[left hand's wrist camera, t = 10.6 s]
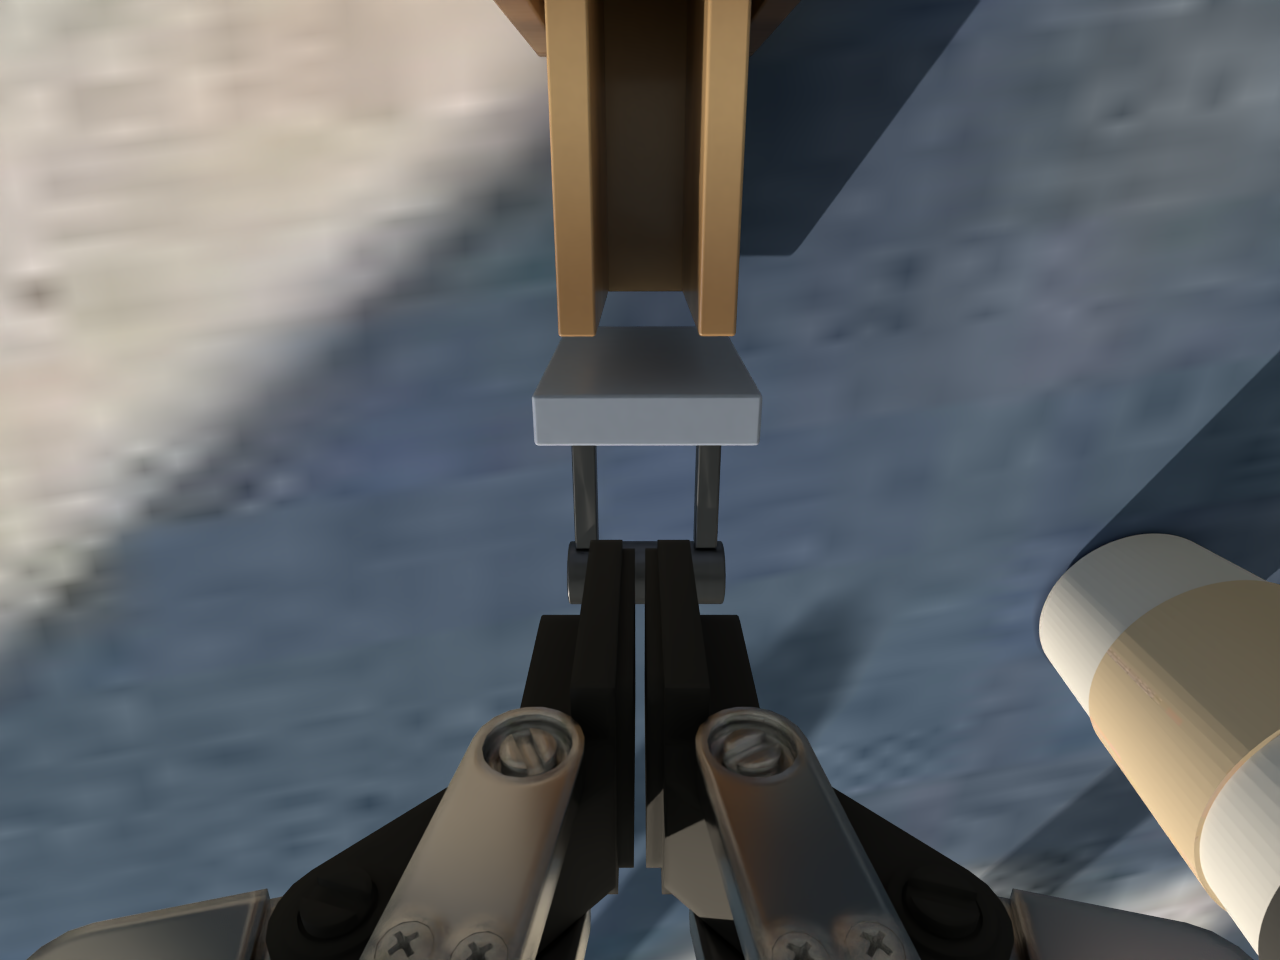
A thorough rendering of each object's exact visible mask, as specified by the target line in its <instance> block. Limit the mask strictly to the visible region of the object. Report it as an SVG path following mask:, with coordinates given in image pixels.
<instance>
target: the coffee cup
mask: <svg viewBox="0 0 1280 960" xmlns="http://www.w3.org/2000/svg"><path fill="white" fill-rule="evenodd" d="M1039 633H1040V640H1041V644H1042V647H1043V650H1044V652H1045V654H1046V656H1047V657H1048V659H1049V660H1050V662H1051V663H1052V664H1053V666H1054V667H1055V669H1056V670H1057V671H1058V673H1059V674H1060V676H1061V677H1062V679H1063V680H1064V681H1065V683H1066V684H1067V686H1068V687H1069V688H1070V690H1071V691H1072V693H1073V694H1074V695H1075V697H1076V698H1077V700H1078V701H1079V703H1080V704H1081V705H1082V707H1083V708H1084V710H1085V711H1086V712H1087V714H1088V715H1089V717H1090V719H1091V722H1092V725H1093V728H1094V730H1095V732H1096V734H1097V735H1098V737H1099V738H1100V740H1101V741H1102V743H1103V744H1104V746H1105V747H1106V748H1107V750H1108V751H1109V753H1110V754H1111V756H1112V757H1113V758H1114V760H1115V761H1116V763H1117V764H1118V766H1119V767H1120V768H1121V770H1122V771H1123V773H1124V774H1125V776H1126V777H1127V778H1128V780H1129V781H1130V783H1131V784H1132V786H1133V787H1134V788H1135V790H1136V791H1137V793H1138V794H1139V796H1140V797H1141V799H1142V800H1143V801H1144V803H1145V804H1146V806H1147V807H1148V809H1149V810H1150V811H1151V813H1152V814H1153V816H1154V817H1155V819H1156V820H1157V821H1158V823H1159V824H1160V826H1161V827H1162V829H1163V830H1164V831H1165V833H1166V834H1167V836H1168V837H1169V839H1170V840H1171V841H1172V843H1173V844H1174V846H1175V847H1176V849H1177V850H1178V851H1179V853H1180V854H1181V856H1182V857H1183V859H1184V860H1185V862H1186V863H1187V864H1188V866H1189V867H1190V869H1191V870H1192V872H1193V873H1194V874H1195V876H1196V877H1197V879H1198V880H1199V882H1200V883H1201V884H1202V886H1203V887H1204V889H1205V890H1206V892H1207V893H1208V894H1209V896H1210V897H1211V898H1212V899H1213V900H1214V901H1215V902H1216V903H1217V904H1218V905H1219V906H1220V907H1222V908H1223V909H1224V910H1226V911H1227V912H1228V913H1229V914H1230V916H1231V917H1232V919H1233V920H1234V922H1235V923H1236V924H1237V926H1238V927H1239V929H1240V930H1241V931H1242V933H1243V934H1244V936H1245V937H1246V938H1247V940H1248V941H1249V943H1250V944H1251V946H1252V947H1253V948H1254V950H1255V951H1256V953H1257V954H1258V955H1259V960H1280V585H1279V584H1275V583H1271V582H1267V581H1266V580H1264V579H1262V578H1260V577H1258V576H1256V575H1254V574H1252V573H1250V572H1249V571H1247V570H1245V569H1243V568H1241V567H1239V566H1237V565H1235V564H1234V563H1232V562H1230V561H1228V560H1226V559H1224V558H1222V557H1220V556H1218V555H1217V554H1215V553H1213V552H1211V551H1209V550H1207V549H1205V548H1203V547H1202V546H1200V545H1198V544H1196V543H1194V542H1192V541H1190V540H1188V539H1185V538H1182V537H1179V536H1174V535H1169V534H1141V535H1135V536H1130V537H1126V538H1122V539H1119V540H1116V541H1113V542H1111V543H1108V544H1106V545H1104V546H1101V547H1100V548H1098V549H1096V550H1094V551H1092V552H1091V553H1089V554H1087V555H1086V556H1084V557H1083V558H1081V559H1080V560H1079V561H1078V562H1076V563H1075V564H1074V565H1073V566H1072V567H1070V568H1069V569H1068V570H1067V571H1066V572H1065V573H1064V574H1063V575H1062V577H1061V578H1060V579H1059V580H1058V581H1057V583H1056V584H1055V585H1054V587H1053V588H1052V590H1051V592H1050V593H1049V595H1048V597H1047V599H1046V601H1045V604H1044V606H1043V609H1042V613H1041V617H1040V624H1039Z"/></svg>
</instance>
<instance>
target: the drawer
mask: <svg viewBox="0 0 1280 960" xmlns="http://www.w3.org/2000/svg"><path fill="white" fill-rule="evenodd" d="M544 2H545V25H546V49H547V72H548V95H549V119H550V142H551V166H552V189H553V212H554V236H555V259H556V283H557V306H558V329H559V335H560V336H562V338H561V340H560V342H559V344H558V346H557V348H556V350H555V352H554V354H553V356H552V358H551V360H550V362H549V364H548V366H547V368H546V370H545V372H544V374H543V376H542V378H541V380H540V382H539V384H538V386H537V388H536V390H535V392H534V394H533V397H532V405H533V422H534V439H535V443H536V445H572V471H573V497H574V523H575V541H572V542H570V544H569V549H568V561H567V590H568V599H569V603H570V604H582V597H583V590H584V583H585V576H586V568H587V561H588V554H589V547H590V541H591V540H599V529H598V489H597V449H596V445H696V468H695V503H694V538H693V539H694V541H690V547H691V554H692V561H693V568H694V576H695V583H696V590H697V597H698V604H722V603H723V601H724V596H725V554H724V547H723V544H722V542H721V541H717V532H718V508H719V485H720V461H721V445H758V444H759V442H760V427H761V411H762V395H761V393H760V392H759V390H758V388H757V386H756V384H755V383H754V381H753V379H752V377H751V376H750V374H749V372H748V370H747V369H746V367H745V365H744V363H743V361H742V360H741V358H740V356H739V354H738V353H737V351H736V349H735V347H734V346H733V344H732V342H731V340H730V338H729V337H728V336H734V335H735V333H736V319H737V298H738V276H739V255H740V234H741V213H742V191H743V170H744V149H745V128H746V106H747V85H748V64H749V43H750V21H751V0H544ZM608 291H683V293H684V296H685V298H686V301H687V304H688V306H689V309H690V312H691V314H692V317H693V319H694V322H695V325H696V327H598V325H599V322H600V318H601V315H602V311H603V308H604V304H605V301H606V298H607V294H608ZM622 542H623V548H635V604H645V548H657V542H658V541H622Z"/></svg>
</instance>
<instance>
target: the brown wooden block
mask: <svg viewBox="0 0 1280 960" xmlns="http://www.w3.org/2000/svg"><path fill="white" fill-rule="evenodd" d="M800 1H801V0H751V21H750V43H749V56H752V55H753V54H754V53H755V52H756V50H757V49H758V48H759V47H760V46H761V45H762V44H763V43H764V41H765V40H766V39H767V38H768V37H769V36H770V35H771V34H772V32H773V31H774V30H775V29H776V28H777V27H778V26H779V25H780V23H781V22H782V21H783V20H784V19H785V18H786V17H787V16H788V14H789V13H790V12H791V11H792V10H793V9H794V8H795V7H796V5H797V4H798V3H799V2H800ZM494 2H495V3H496V4H497V5H498V7H499V8H500V9H501V10H502V12H503V13H504V14H505V15H506V16H507V18H508V19H509V20H510V21H511V23H512V24H513V25H514V26H515V27H516V29H517V30H518V31H519V32H520V34H521V35H522V36H523V37H524V38H525V40H526V41H527V42H528V43H529V45H530V46H531V47H532V48H533V50H534V51H535V52H536V53H537V55H538V56H540V57H547V49H546V25H545V2H544V0H494Z"/></svg>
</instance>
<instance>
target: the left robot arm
mask: <svg viewBox="0 0 1280 960" xmlns="http://www.w3.org/2000/svg"><path fill="white" fill-rule="evenodd" d="M634 783H635V548H623V542H622V540H591V541H590V547H589V554H588V561H587V568H586V576H585V583H584V590H583V597H582V605H581V612H580V615H543V616H542V617H541V620H540V624H539V628H538V632H537V637H536V641H535V646H534V650H533V654H532V659H531V663H530V668H529V672H528V676H527V681H526V685H525V689H524V694H523V698H522V703H521V707H520V708H519V709H514V710H510V711H507V712H505V713H503V714H501V715H498V716H496V717H494V718H493V719H491V720H490V721H489V722H487V723H486V724H485V725H483V726H482V727H481V728H480V730H479V731H478V732H477V734H476V735H475V736H474V738H473V739H472V741H471V743H470V745H469V747H468V749H467V751H466V753H465V755H464V757H463V759H462V761H461V763H460V765H459V767H458V769H457V770H456V772H455V774H454V776H453V778H452V780H451V782H450V784H449V786H448V787H447V788H445V789H444V790H442V791H441V792H439V793H437V794H436V795H434V796H432V797H431V798H429V799H427V800H426V801H424V802H423V803H421V804H419V805H418V806H416V807H414V808H413V809H411V810H409V811H408V812H406V813H405V814H403V815H401V816H400V817H398V818H396V819H395V820H393V821H392V822H390V823H388V824H387V825H385V826H383V827H382V828H380V829H378V830H377V831H375V832H374V833H372V834H370V835H369V836H367V837H365V838H364V839H362V840H360V841H359V842H357V843H356V844H354V845H352V846H351V847H349V848H347V849H346V850H344V851H342V852H341V853H339V854H338V855H336V856H334V857H333V858H331V859H329V860H328V861H326V862H324V863H323V864H321V865H320V866H318V867H316V868H315V869H313V870H311V871H310V872H309V873H307V874H306V875H305V876H304V877H302V878H301V879H300V880H298V881H297V882H296V883H294V884H293V885H292V886H291V887H290V889H289V890H288V891H287V892H286V893H285V894H284V895H283V897H278V898H273V899H270V897H269V893H268V889H262V890H257V891H252V892H247V893H242V894H237V895H232V896H227V897H222V898H217V899H212V900H207V901H201V902H196V903H191V904H186V905H181V906H176V907H171V908H166V909H161V910H156V911H151V912H146V913H141V914H136V915H131V916H125V917H120V918H115V919H110V920H105V921H100V922H95V923H92V924H89V925H86V926H83V927H80V928H77V929H73V930H70V931H68V932H66V933H64V934H63V935H61V936H59V937H57V938H56V939H54V940H52V941H50V942H49V943H47V944H45V945H43V946H42V947H40V948H39V949H38V950H37V951H36V952H35V953H34V954H32V955H31V956H30V957H29V958H28V959H27V960H584V956H585V951H586V947H587V942H588V938H589V934H590V923H591V908H592V907H593V906H594V905H595V904H597V903H598V902H599V901H600V900H601V899H602V898H604V897H605V896H606V895H607V894H618V876H619V868H634ZM645 783H646V868H661V876H662V894H673V895H674V896H675V897H676V898H678V899H679V900H680V901H681V902H682V903H683V904H685V905H686V906H687V907H688V908H689V923H690V934H691V938H692V942H693V947H694V951H695V956H696V960H1253V959H1252V958H1251V957H1250V956H1249V955H1248V954H1246V953H1245V952H1244V951H1243V950H1242V949H1241V948H1240V947H1238V946H1237V945H1235V944H1233V943H1231V942H1230V941H1228V940H1226V939H1224V938H1223V937H1221V936H1219V935H1217V934H1216V933H1214V932H1212V931H1210V930H1207V929H1203V928H1200V927H1197V926H1194V925H1191V924H1188V923H1185V922H1180V921H1175V920H1170V919H1165V918H1160V917H1155V916H1149V915H1144V914H1139V913H1134V912H1129V911H1124V910H1119V909H1114V908H1109V907H1104V906H1099V905H1094V904H1089V903H1084V902H1079V901H1073V900H1068V899H1063V898H1058V897H1053V896H1048V895H1043V894H1038V893H1033V892H1028V891H1023V890H1018V889H1012V893H1011V897H1010V899H1007V898H1002V897H997V895H996V894H995V893H994V892H993V891H992V890H991V889H990V887H989V886H988V885H987V884H986V883H984V882H983V881H982V880H980V879H979V878H978V877H976V876H975V875H974V874H973V873H971V872H970V871H969V870H967V869H965V868H964V867H962V866H960V865H959V864H957V863H956V862H954V861H952V860H951V859H949V858H947V857H946V856H944V855H942V854H941V853H939V852H938V851H936V850H934V849H933V848H931V847H929V846H928V845H926V844H924V843H923V842H921V841H920V840H918V839H916V838H915V837H913V836H911V835H910V834H908V833H906V832H905V831H903V830H902V829H900V828H898V827H897V826H895V825H893V824H892V823H890V822H888V821H887V820H885V819H884V818H882V817H880V816H879V815H877V814H875V813H874V812H872V811H871V810H869V809H867V808H866V807H864V806H862V805H861V804H859V803H857V802H856V801H854V800H853V799H851V798H849V797H848V796H846V795H844V794H843V793H841V792H839V791H838V790H836V789H835V788H833V787H832V786H831V784H830V782H829V780H828V778H827V776H826V774H825V772H824V770H823V769H822V767H821V765H820V763H819V761H818V759H817V757H816V755H815V753H814V751H813V749H812V747H811V745H810V743H809V741H808V739H807V738H806V736H805V735H804V734H803V732H802V731H801V730H800V728H799V727H798V726H797V725H795V724H794V723H793V722H791V721H790V720H789V719H787V718H786V717H784V716H782V715H779V714H777V713H775V712H773V711H770V710H766V709H761V708H760V707H759V703H758V698H757V694H756V689H755V685H754V681H753V676H752V672H751V668H750V663H749V659H748V654H747V650H746V646H745V641H744V637H743V632H742V628H741V624H740V620H739V617H738V616H737V615H700V612H699V605H698V597H697V590H696V583H695V576H694V568H693V561H692V554H691V547H690V541H689V540H658V542H657V548H645Z"/></svg>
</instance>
